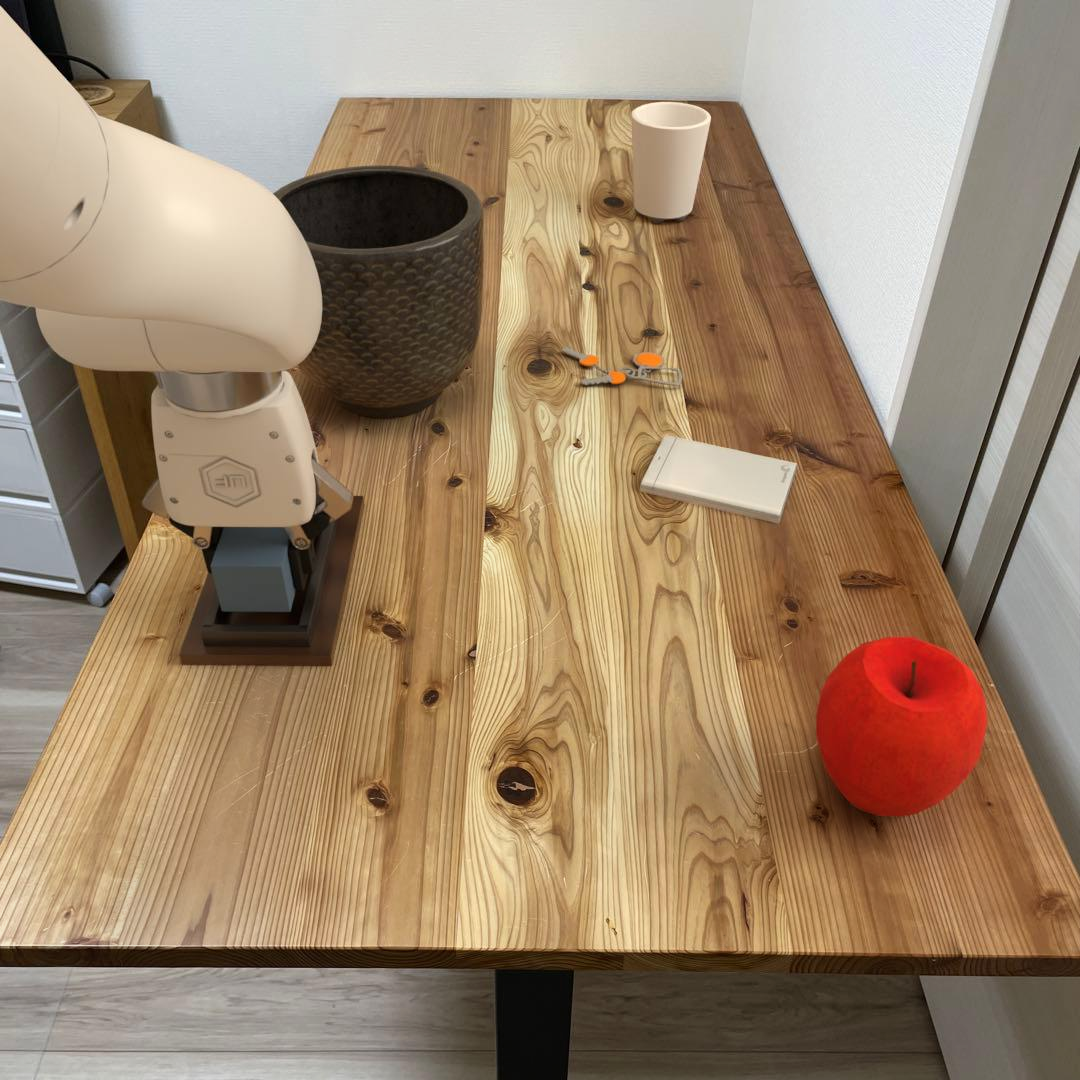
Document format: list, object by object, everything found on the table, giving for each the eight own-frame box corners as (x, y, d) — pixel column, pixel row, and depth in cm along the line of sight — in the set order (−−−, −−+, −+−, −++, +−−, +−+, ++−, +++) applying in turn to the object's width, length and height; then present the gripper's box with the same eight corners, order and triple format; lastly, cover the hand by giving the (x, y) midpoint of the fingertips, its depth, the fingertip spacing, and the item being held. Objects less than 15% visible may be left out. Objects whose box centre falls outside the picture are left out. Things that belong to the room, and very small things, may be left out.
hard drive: (798, 461, 96) (665, 431, 100) (781, 514, 91) (640, 481, 94) (795, 476, 98) (663, 446, 101) (777, 529, 92) (638, 496, 95)
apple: (928, 728, 74) (976, 601, 66) (977, 852, 67) (1038, 725, 59) (785, 731, 74) (817, 603, 66) (819, 856, 66) (859, 728, 58)
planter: (262, 438, 100) (226, 246, 88) (319, 334, 115) (295, 158, 103) (470, 454, 98) (462, 261, 86) (500, 346, 113) (497, 169, 101)
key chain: (683, 356, 112) (683, 349, 111) (681, 394, 106) (682, 387, 106) (562, 347, 113) (562, 340, 113) (554, 384, 108) (554, 377, 107)
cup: (663, 236, 135) (673, 134, 127) (609, 211, 140) (614, 112, 132) (715, 215, 140) (727, 116, 132) (661, 192, 146) (669, 96, 137)
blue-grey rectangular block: (242, 548, 83) (231, 503, 80) (306, 549, 83) (298, 504, 80) (221, 611, 78) (209, 565, 75) (290, 612, 78) (281, 566, 75)
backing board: (332, 665, 78) (328, 641, 76) (181, 664, 78) (174, 640, 76) (364, 504, 93) (361, 481, 91) (237, 503, 92) (232, 480, 91)
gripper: (67, 399, 65) (136, 611, 77) (345, 401, 66) (372, 613, 77) (105, 337, 71) (164, 544, 83) (361, 339, 71) (384, 546, 83)
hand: (264, 575), depth 80 cm, fingers closed on blue-grey rectangular block, 5 cm apart
